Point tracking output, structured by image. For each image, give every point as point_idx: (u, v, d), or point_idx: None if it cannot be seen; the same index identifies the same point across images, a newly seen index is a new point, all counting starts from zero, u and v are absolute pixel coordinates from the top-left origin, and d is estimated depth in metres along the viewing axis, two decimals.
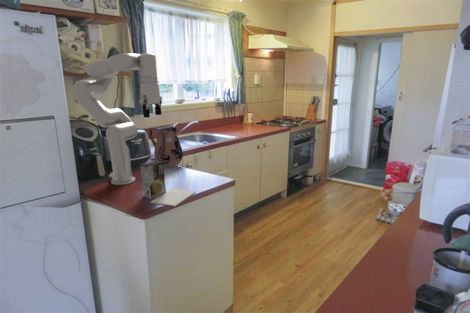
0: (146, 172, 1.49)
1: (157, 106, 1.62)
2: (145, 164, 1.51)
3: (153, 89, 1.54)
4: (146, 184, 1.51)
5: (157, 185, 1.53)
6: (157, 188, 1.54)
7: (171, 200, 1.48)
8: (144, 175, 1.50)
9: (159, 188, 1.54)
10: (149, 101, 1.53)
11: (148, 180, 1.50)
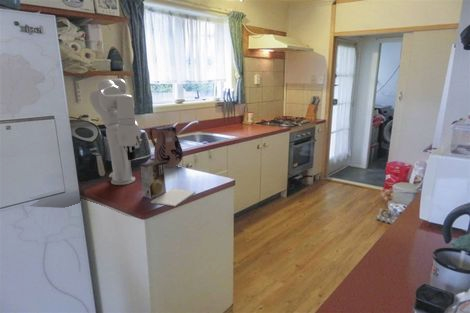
0: (146, 172, 1.49)
1: None
2: (145, 164, 1.51)
3: None
4: (146, 184, 1.51)
5: (157, 185, 1.53)
6: (157, 188, 1.54)
7: (171, 200, 1.48)
8: (144, 175, 1.50)
9: (159, 188, 1.54)
10: None
11: (148, 180, 1.50)
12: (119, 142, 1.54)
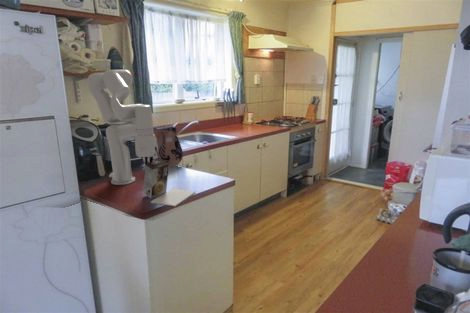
0: (151, 174, 1.47)
1: None
2: (151, 165, 1.48)
3: None
4: (148, 184, 1.50)
5: (159, 186, 1.52)
6: (158, 189, 1.53)
7: (171, 200, 1.48)
8: (148, 175, 1.48)
9: (160, 188, 1.54)
10: None
11: (151, 181, 1.48)
12: (137, 153, 1.51)
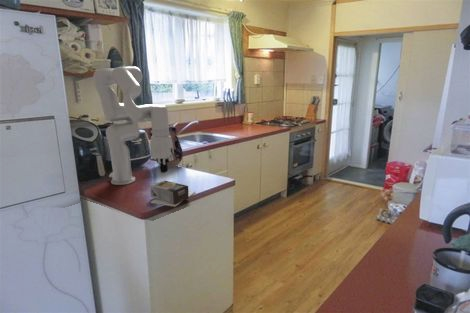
0: (169, 200, 1.44)
1: None
2: (176, 196, 1.42)
3: None
4: (160, 195, 1.47)
5: None
6: None
7: None
8: (167, 196, 1.44)
9: None
10: None
11: (164, 200, 1.46)
12: (152, 154, 1.48)
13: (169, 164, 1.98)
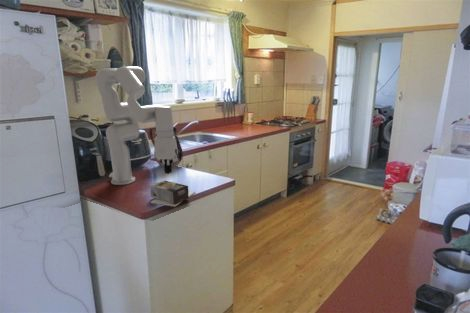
0: (169, 200, 1.44)
1: None
2: (176, 196, 1.42)
3: None
4: (160, 195, 1.47)
5: None
6: None
7: None
8: (167, 196, 1.44)
9: None
10: None
11: (164, 200, 1.46)
12: (156, 155, 1.47)
13: None
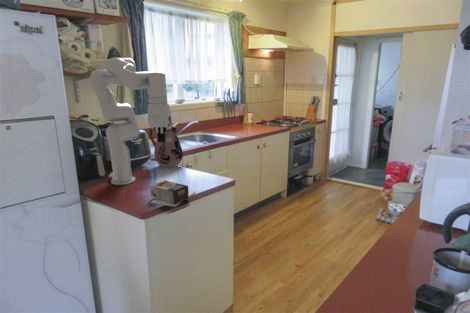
0: (169, 200, 1.44)
1: None
2: (176, 196, 1.42)
3: None
4: (160, 195, 1.47)
5: None
6: None
7: None
8: (167, 196, 1.44)
9: None
10: None
11: (164, 200, 1.46)
12: (150, 123, 1.44)
13: (169, 164, 1.98)
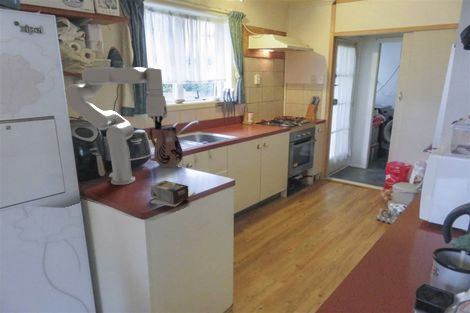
0: (169, 200, 1.44)
1: None
2: (176, 196, 1.42)
3: None
4: (160, 195, 1.47)
5: None
6: None
7: None
8: (167, 196, 1.44)
9: None
10: None
11: (164, 200, 1.46)
12: (147, 112, 1.64)
13: (169, 164, 1.98)
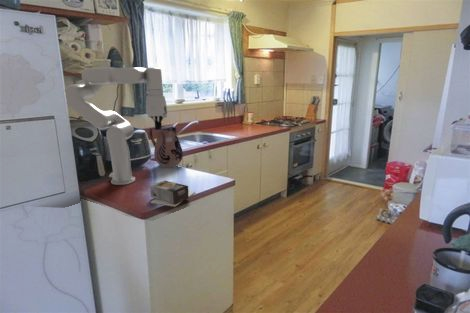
0: (169, 200, 1.44)
1: None
2: (176, 196, 1.42)
3: None
4: (160, 195, 1.47)
5: None
6: None
7: None
8: (167, 196, 1.44)
9: None
10: None
11: (164, 200, 1.46)
12: (147, 112, 1.64)
13: (169, 164, 1.98)
